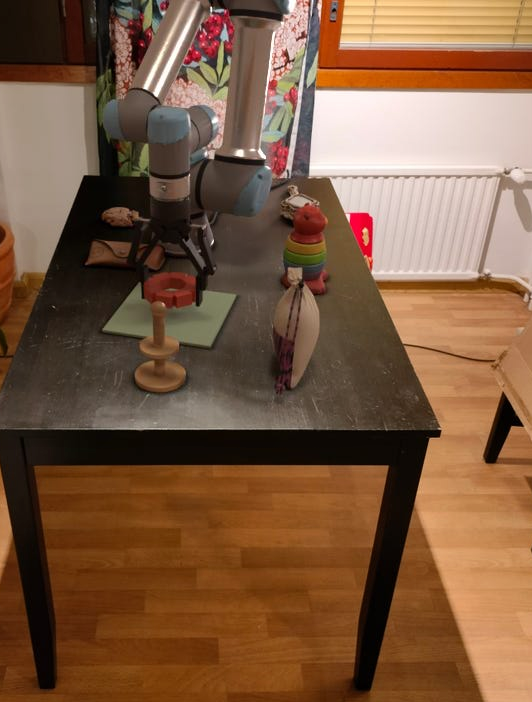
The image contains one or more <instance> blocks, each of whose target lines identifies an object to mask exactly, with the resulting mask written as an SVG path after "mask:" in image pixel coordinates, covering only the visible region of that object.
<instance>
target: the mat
mask: <svg viewBox="0 0 532 702" xmlns="http://www.w3.org/2000/svg"><path fill="white" fill-rule="evenodd" d="M167 290H169V291H175V290H178V289H167ZM236 298H237V294H235V293H229V292H228V293H227V292H220V291H215V290H214V291H213V290H207V289H206V290H205V291H203V301H202V303H201V305H200V306H199V307H196V302H195V303H194V302H192V305H189V306H185V307H181V308H176V307H175V306H174V307H173V308H172V309H169V308H166V312H165V314H164V321H165V335H168V336H171V337H173V338H175V339H176V340H177V341H178V343H179V345H184V346H189V347H198V348H204V349H211V348H212V345H213V344H214V342H215V340H216V338H217V335H218V333H219V332H220V330H221V328H222V326H223V324H224V322H225V320H226V318H227V315H228V314H229V312H230V310H231V308H232V306H233V304H234V302H235V300H236ZM150 309H151V304H150V303H149V302H148V301H147V300H146V299H142V297H141V283H140V282H137V284H136V286H135V287H134V288H133V289H132V291H131V292H130V293H129V294H128V296H127V297H126V298H125V299H124V300H123V302H122V303H121V305H119V307H118V308H117V309H116V311H115V312H114V314H113V315H112V316H111V318H110V319H109V320H108V321H107V322H106V324H105V325H104V327H102V329H101V332H102V333H104V334H112V335H119V336H124V337H131V338H138V339H145V338H146V337H149V336H152V335H153V316H152V313H151V310H150Z"/></svg>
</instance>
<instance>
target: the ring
mask: <svg viewBox="0 0 532 702" xmlns="http://www.w3.org/2000/svg"><path fill="white" fill-rule="evenodd" d="M167 289H178V290H175V291H169V290H167ZM144 298H145V299H146V300H147V301H148V302H149V303H150V304H151V305H152V304H153V303H154V302H156V301H160V302H162V303H164V304H165V306H166V308H169V309H172V308H173V307H174V306H175V307H176V308H181V307H185V306H189V305H192V302H194V303H195V302H196V277H194V276H193V275H192V274H190V275H188V273H185V272H177V271H171V272H170V273H169V272H168V271H165V272H161V273H157V274H152V277H150V276H149V278H148V280H147V281H146V282H145V283H144Z"/></svg>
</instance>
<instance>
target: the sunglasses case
mask: <svg viewBox="0 0 532 702" xmlns="http://www.w3.org/2000/svg"><path fill="white" fill-rule="evenodd" d="M131 244H132V242H126V241H110V240H109V241H108V240H102V239H95V238H94V239H92V240H91V246H90V250H89V254H88V258H87V261H86V262H85V263H84V266H86V267H87V266H89V267H90V266H91V267H93V266H94V267H104V268H105V267H107V268H116V269H117V268H118V269H127V270H136V268H135V266H133V265H128V264H127V263H126V261H127V257H128V254H129V251H130V247H131ZM148 245H149V243H148V244H147V243H141V244H140V247H139V250H138V254H137V258H140V257H141V255H142V254H143V252H144V251H145V249H146V248H147V246H148ZM165 261H166V255H165V248H164V246H162V245H159V244H157V245H156V246H155V248H154V249H153V251H152V252H151V254H150V255H149V257H148V258H147V260H146V261H145V263H144V265H145V264H146V265H148V270H149V271H159V270H160V269H161V268H162V266H163V264H164V263H165Z"/></svg>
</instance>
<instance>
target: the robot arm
mask: <svg viewBox="0 0 532 702" xmlns="http://www.w3.org/2000/svg"><path fill="white" fill-rule="evenodd" d="M296 1H297V0H168V3H169V4H168V7H167V8H166V10H165V13H164V14H163V16H162V19H161V21H160V23H159V24H158V27H157V30H156V31H155V33H154V35H153V37H152V39H151V42H150V44H149V45H148V48H147V50H146V53H145V54H144V56H143V58H142V60H141V62H140V65H139V66H138V69H137V70H136V73H135V75H134V77H133V79H132V81H131V83H130V85H129V87H128V90H127V91H126V93H125V95H124V98H123V99H121V98H118V99H110V100H109V101H108V102H107V103H106V104H105V106H104V109H103V112H102V127H103V129H104V131H105V133H106V135H107V136H108V137H109V138H111V139H115V140H119V141H122V142H126V143H128V142H130V143H138V144H145V145H147V146H148V147H147V149H148V150H147V151H148V165H149V166H148V167H149V169H148V171H149V172H148V175H149V194H150V198H149V200H150V201H149V205H150V206H149V207H150V209H149V210H150V211H149V212H150V218H145V217H144V216H142V215H141V216H139V218H138V219H137V220H136V222H135V225H134V230H135V231H134V234H133V237H132V241H131V243H132V244H131V247H130V251H129V254H128V257H127V261H126V263H127V264H128V265H133V266H135V268H136V269H135V279H136V282H137V283H139V282H140V283H141V297H142V299H145V298H144V283H145V282H146V281H147V280H148V278H149V277H150V275H149V274H150V273H149V271H150V270H148V265H146V264H145V265H144V263H145V261H146V260H147V258H148V257H149V255H150V254H151V252H152V251H153V249H154V248H155V246H156V245H157V244H159V245H162V246H164V248H165V256H168V257H173V258H188V260H189V261H190V262H191V264H192V266H193V267H194V269H195V271H196V273H197V274H196V275H195V279H196V307H199V306H200V305H201V303H202V301H203V291H205V290H206V291H207V288H208V285H209V283H208V281H209V279H208V278H209V276H214V275H215V274H216V272H217V270H218V266H217V263H216V260H215V255H214V253H213V251H212V249H213V247H214V234H213V231H212V229H211V226H212V225H213V224H214V222H215V221H216V218H217V216H218V214H219V213H220V214H226V215H231V216H232V215H233V216H235V217H237V218H238V217H245V218H253V217H256V216H257V215H258V214H259V213H260V212H261V211H262V210H263V208H264V207H265V205H266V203H267V201H268V197H269V195H270V192H271V190H272V189H275V188H277V187H278V186H279V187H280V186H281V185H283V184H285V183H287V182H288V181H289V179H290V176H291V175H290V173H291V172H290V170H289V168H287V169H286V178H284V180H282V181H280V182H277V183H275V184H274V185H273V184H272V182H273V176H272V175H273V170H272V169H271V167H269V166H267V165H266V159H267V157H266V155H265V154H264V153H263V151H262V150H261V145H262V139H263V138H262V137H263V130H264V129H263V128H264V123H265V122H264V121H265V112H266V105H267V97H268V90H269V80H270V73H271V66H272V57H273V48H274V40H275V34H276V32H277V30H278V29H280V28H281V27H282V26H283V25H284V21H285V20H284V18H285V16H288V15H290V14H291V13H292V12H293V11H294V10H295V4H296ZM218 10H223V11H224V10H225V11H228V17H227V19H228V21H230V24H231V25H232V26H233V37H232V39H233V40H232V46H231V47H232V48H231V56H230V57H231V58H230V67H229V77H228V86H227V95H226V105H225V114H224V124H223V133H222V143H221V145H220V146H219V148H217V149H216V150H215V151H214V152H213V153H214V154H213V158H209V157H208V155H209V154H208V151H207V150H206V149H205V147H207V146H209V145H210V143H212V142H213V141H214V140H215V139H216V138H217V136H218V134H219V131H220V120H219V117H218V115H217V113H216V112H215V110H213V108H211V107H210V106H208V105H206V104H194V105H191V106H189V107H180V106H173V105H172V106H171V105H165V103H166V100H167V98H168V96H169V94H170V92H171V90H172V88H173V85H174V83H175V82H176V79H177V77H178V75H179V73H180V70H181V68H182V66H183V64H184V62H185V60H186V57H187V56H188V53H189V51H190V49H191V48H192V44H193V43H194V40H195V38H196V36H197V33H198V31H199V30H200V27H201V25H202V24H203V23H205V22H207V21H208V20H209V19H210V18H211V15H212V13H213V12H214V11H218ZM207 211H208V212H214V213H213V216H212V218H211V220H210V221H209V219H208V216H207ZM148 227H149V228H150V230H151V231H152V234H151V240H150V242H149V243H148V244H149V245H148V246H147V248H146V249H145V251H144V252H143V254H142V255H141V257H140V258H137V254H138V250H139V247H140V244H142V240H143V238H144V236H145V235H144V234H145V231H146V230H147V229H148ZM201 255H202V256H201Z"/></svg>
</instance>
